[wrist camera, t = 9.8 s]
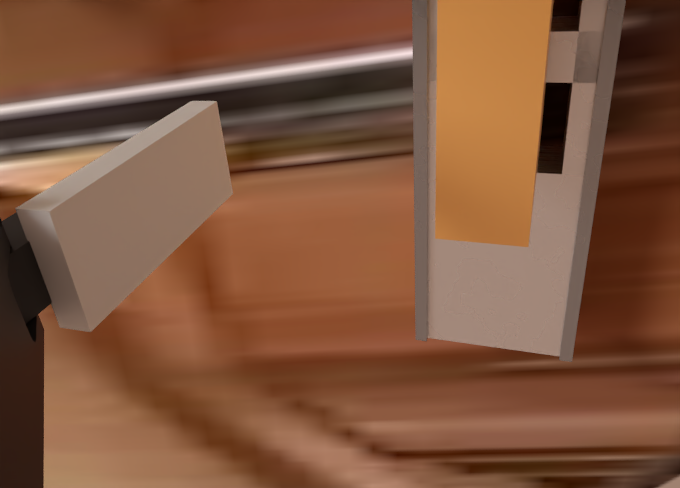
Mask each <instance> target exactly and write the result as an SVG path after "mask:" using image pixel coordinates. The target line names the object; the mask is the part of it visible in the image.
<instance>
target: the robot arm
mask: <svg viewBox="0 0 680 488" xmlns="http://www.w3.org/2000/svg"><path fill="white" fill-rule="evenodd" d="M232 194H233V191H232V186H231V180H230V174H229V168H228V163H227V157H226V151H225V146H224V140H223V134H222V129H221V123H220V117H219V111H218V106H217V101H191V102H189V103H187V104H186V105H184V106H183V107H181V108H179V109H178V110H176V111H174V112H173V113H171V114H169V115H168V116H166V117H165V118H163V119H161V120H160V121H158V122H156V123H155V124H153V125H151V126H150V127H148V128H147V129H145V130H143V131H142V132H140V133H138V134H137V135H135V136H133V137H132V138H130V139H129V140H127V141H125V142H124V143H122V144H120V145H119V146H117V147H115V148H114V149H112V150H111V151H109V152H107V153H106V154H104V155H102V156H101V157H99V158H97V159H96V160H94V161H93V162H91V163H89V164H88V165H86V166H84V167H83V168H81V169H79V170H78V171H76V172H74V173H73V174H71V175H70V176H68V177H66V178H65V179H63V180H61V181H60V182H58V183H56V184H55V185H53V186H52V187H50V188H48V189H47V190H45V191H43V192H42V193H40V194H38V195H37V196H35V197H34V198H32V199H30V200H29V201H27V202H25V203H24V204H22V205H20V206H19V207H17V208H16V213H15V214H13V215H11V216H10V217H8V218H7V219H5V220H3V221H1V219H0V488H43V455H44V328H43V326H42V323H41V321H40V318H39V316H38V314H39V313H40V312H41V311H42V310H44V309H45V308H46V307H47V306H48V305H49V304H51V305H52V308H53V310H54V313H55V316H56V318H57V321H58V324H59V326H60V327H61V328H68V329H74V330H81V331H87V332H91V331H92V330H93V329H94V328H95V327H96V326H97V325H98V324H99V323H101V322H102V321H103V320H104V319H105V318H106V317H107V316H108V315H109V314H110V313H111V312H112V311H113V310H114V309H115V308H116V307H117V306H118V305H119V304H120V303H121V302H122V301H123V300H124V299H125V298H126V297H127V296H128V295H129V294H130V293H131V292H132V291H133V290H134V289H135V288H136V287H138V286H139V285H140V284H141V283H142V282H143V281H144V280H145V279H146V278H147V277H148V276H149V275H150V274H151V273H152V272H153V271H154V270H155V269H156V268H157V267H158V266H159V265H160V264H161V263H162V262H163V261H164V260H165V259H166V258H167V257H168V256H169V255H170V254H171V253H172V252H173V251H175V250H176V249H177V248H178V247H179V246H180V245H181V244H182V243H183V242H184V241H185V240H186V239H187V238H188V237H189V236H190V235H191V234H192V233H193V232H194V231H195V230H196V229H197V228H198V227H199V226H200V225H201V224H202V223H203V222H204V221H205V220H206V219H207V218H208V217H209V216H210V215H212V214H213V213H214V212H215V211H216V210H217V209H218V208H219V207H220V206H221V205H222V204H223V203H224V202H225V201H226V200H227V199H228V198H229V197H230V196H231V195H232Z"/></svg>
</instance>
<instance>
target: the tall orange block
mask: <svg viewBox="0 0 680 488" xmlns="http://www.w3.org/2000/svg"><path fill="white" fill-rule="evenodd" d="M553 3H554V0H437V94H436V200H435V239H445V240H455V241H466V242H477V243H488V244H499V245H510V246H521V247H528V246H529V237H530V229H531V220H532V211H533V202H534V193H535V184H536V175H537V166H538V157H539V148H540V140H541V131H542V121H543V111H544V100H545V90H546V74H547V64H548V54H549V43H550V33H551V22H552V12H553Z"/></svg>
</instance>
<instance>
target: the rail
mask: <svg viewBox="0 0 680 488" xmlns="http://www.w3.org/2000/svg"><path fill="white" fill-rule="evenodd" d="M625 3H626V0H579V8H578V16H552V22H551V33H550V43H549V54H548V64H547V74H546V82H553V83H570V86H569V95H568V104H567V113H566V121H565V130H564V139H563V146H543V145H540V148H539V157H538V166H537V175H536V184H535V193H534V202H533V211H532V220H531V229H530V237H529V246H528V247H521V246H510V245H499V244H488V243H477V242H466V241H455V240H445V239H435V200H436V94H437V0H412V19H413V119H414V219H415V318H416V340H422V341H427V338H433V339H440V340H447V341H454V342H461V343H468V344H475V345H482V346H490V347H497V348H504V349H511V350H518V351H525V352H532V353H539V354H546V355H553V356H559V360H562V361H569V362H572V358H573V351H574V344H575V338H576V331H577V324H578V318H579V311H580V304H581V297H582V291H583V284H584V277H585V271H586V264H587V257H588V251H589V244H590V237H591V231H592V224H593V217H594V210H595V204H596V197H597V190H598V184H599V177H600V170H601V164H602V157H603V150H604V144H605V137H606V130H607V123H608V117H609V110H610V103H611V97H612V90H613V83H614V77H615V70H616V63H617V57H618V50H619V43H620V36H621V30H622V23H623V16H624V10H625Z"/></svg>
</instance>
